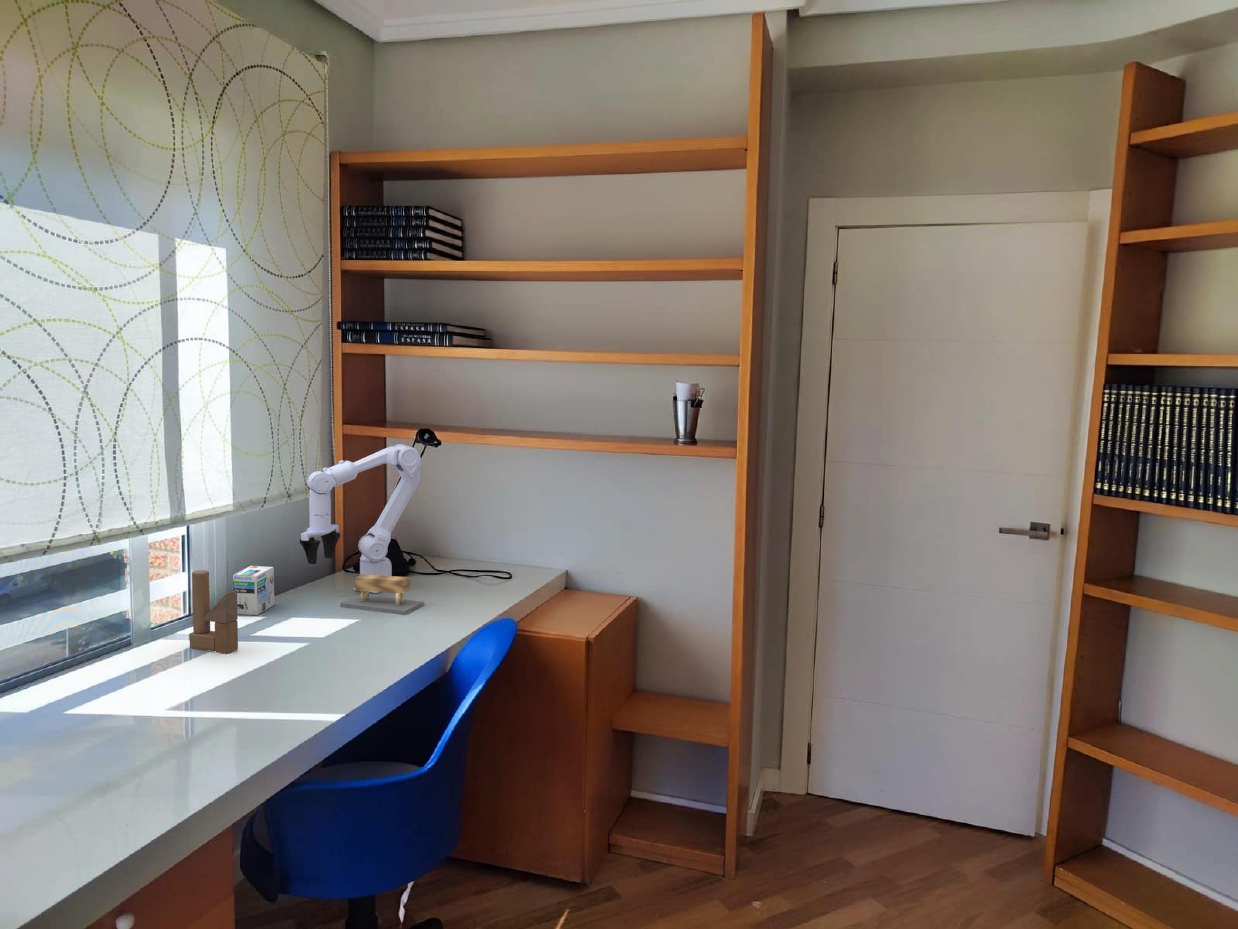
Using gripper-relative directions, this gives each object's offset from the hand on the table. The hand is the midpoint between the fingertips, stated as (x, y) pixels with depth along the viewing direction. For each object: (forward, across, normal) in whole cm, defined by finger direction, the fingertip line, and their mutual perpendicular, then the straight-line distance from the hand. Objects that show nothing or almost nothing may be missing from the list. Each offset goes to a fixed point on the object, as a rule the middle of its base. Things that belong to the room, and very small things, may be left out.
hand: (320, 560), depth 242 cm
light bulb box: (+10, +19, -7) cm, 23 cm away
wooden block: (+10, +48, +6) cm, 49 cm away
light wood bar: (+5, +3, +22) cm, 23 cm away
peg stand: (+10, +3, +22) cm, 24 cm away
